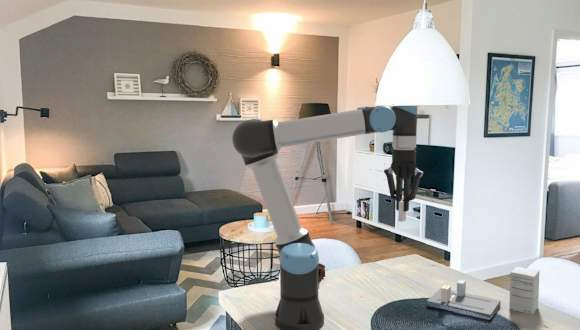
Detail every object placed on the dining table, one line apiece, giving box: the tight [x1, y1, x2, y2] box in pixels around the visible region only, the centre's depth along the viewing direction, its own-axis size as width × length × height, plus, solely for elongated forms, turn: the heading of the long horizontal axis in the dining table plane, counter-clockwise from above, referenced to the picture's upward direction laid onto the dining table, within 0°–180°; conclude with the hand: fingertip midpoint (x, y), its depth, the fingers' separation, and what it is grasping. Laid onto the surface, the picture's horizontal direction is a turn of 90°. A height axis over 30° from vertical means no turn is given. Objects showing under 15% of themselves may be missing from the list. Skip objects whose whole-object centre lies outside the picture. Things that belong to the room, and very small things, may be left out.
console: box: [426, 287, 502, 318], centre depth 160 cm, size 15×20×2 cm
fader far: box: [456, 279, 467, 297], centre depth 164 cm, size 4×2×5 cm, turn 145°
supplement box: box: [508, 266, 540, 315], centre depth 157 cm, size 7×7×13 cm
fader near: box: [441, 284, 452, 303], centre depth 159 cm, size 4×2×5 cm, turn 145°
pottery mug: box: [318, 262, 326, 283], centre depth 186 cm, size 12×10×8 cm
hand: (402, 220), depth 158 cm, fingers closed
